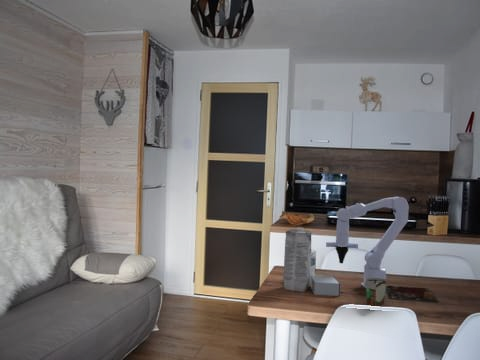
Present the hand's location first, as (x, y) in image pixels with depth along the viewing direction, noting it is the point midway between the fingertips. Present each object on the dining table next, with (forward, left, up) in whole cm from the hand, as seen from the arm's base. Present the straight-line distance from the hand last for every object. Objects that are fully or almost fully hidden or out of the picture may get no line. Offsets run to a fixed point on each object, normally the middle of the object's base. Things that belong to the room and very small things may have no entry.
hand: (341, 262), depth 193 cm
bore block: (+10, +14, -10) cm, 20 cm away
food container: (-6, +32, -10) cm, 34 cm away
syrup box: (+15, -4, -10) cm, 19 cm away
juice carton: (+22, +14, -10) cm, 28 cm away
